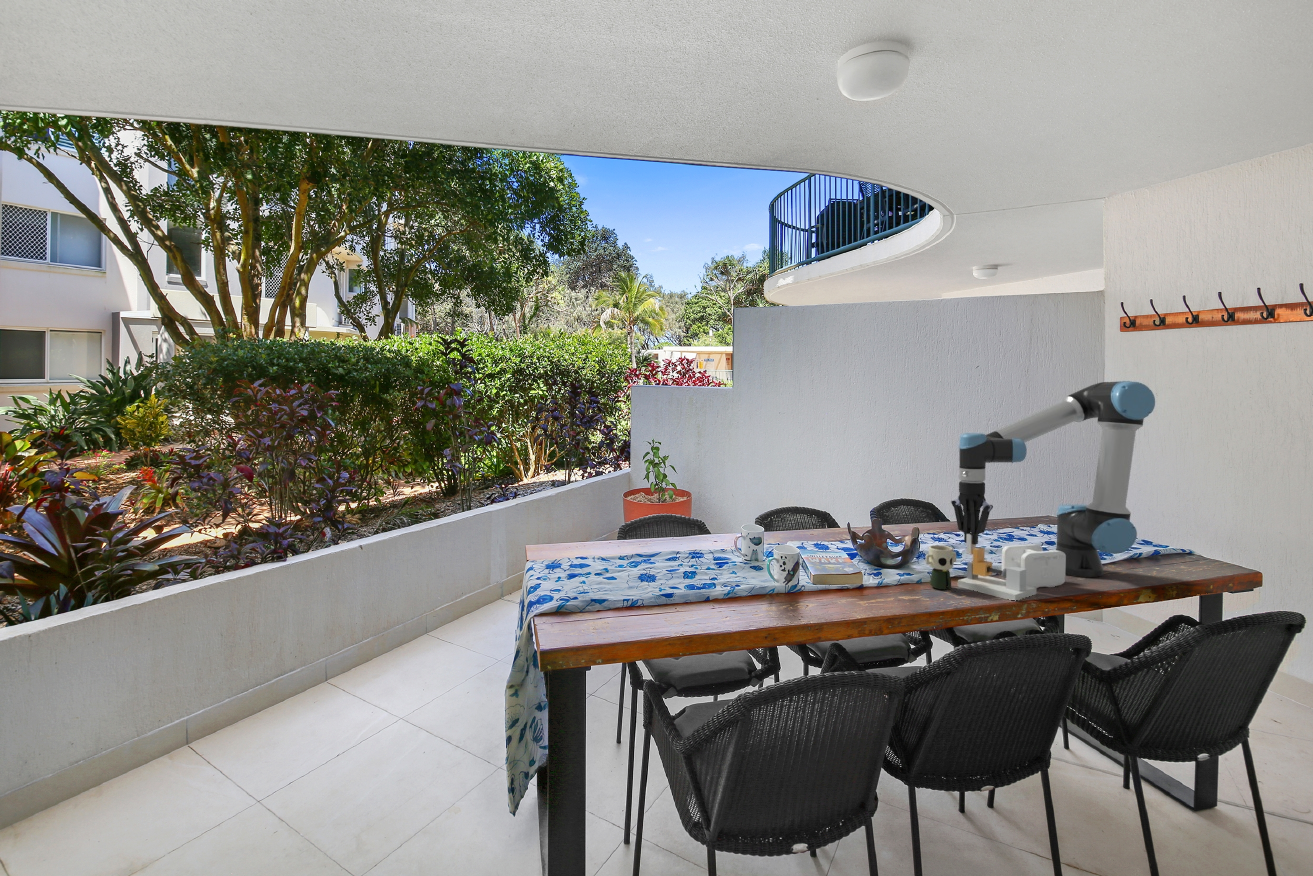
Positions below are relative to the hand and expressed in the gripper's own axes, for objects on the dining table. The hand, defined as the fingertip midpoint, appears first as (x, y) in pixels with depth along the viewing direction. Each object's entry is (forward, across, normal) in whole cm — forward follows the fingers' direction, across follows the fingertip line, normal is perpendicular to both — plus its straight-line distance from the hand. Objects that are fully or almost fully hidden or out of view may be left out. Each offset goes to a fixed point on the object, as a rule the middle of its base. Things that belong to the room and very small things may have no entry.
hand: (970, 553), depth 201 cm
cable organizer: (+10, +11, +16) cm, 22 cm away
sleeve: (+6, +4, 0) cm, 7 cm away
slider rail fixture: (+10, +8, 0) cm, 13 cm away
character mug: (+10, -3, -12) cm, 16 cm away
